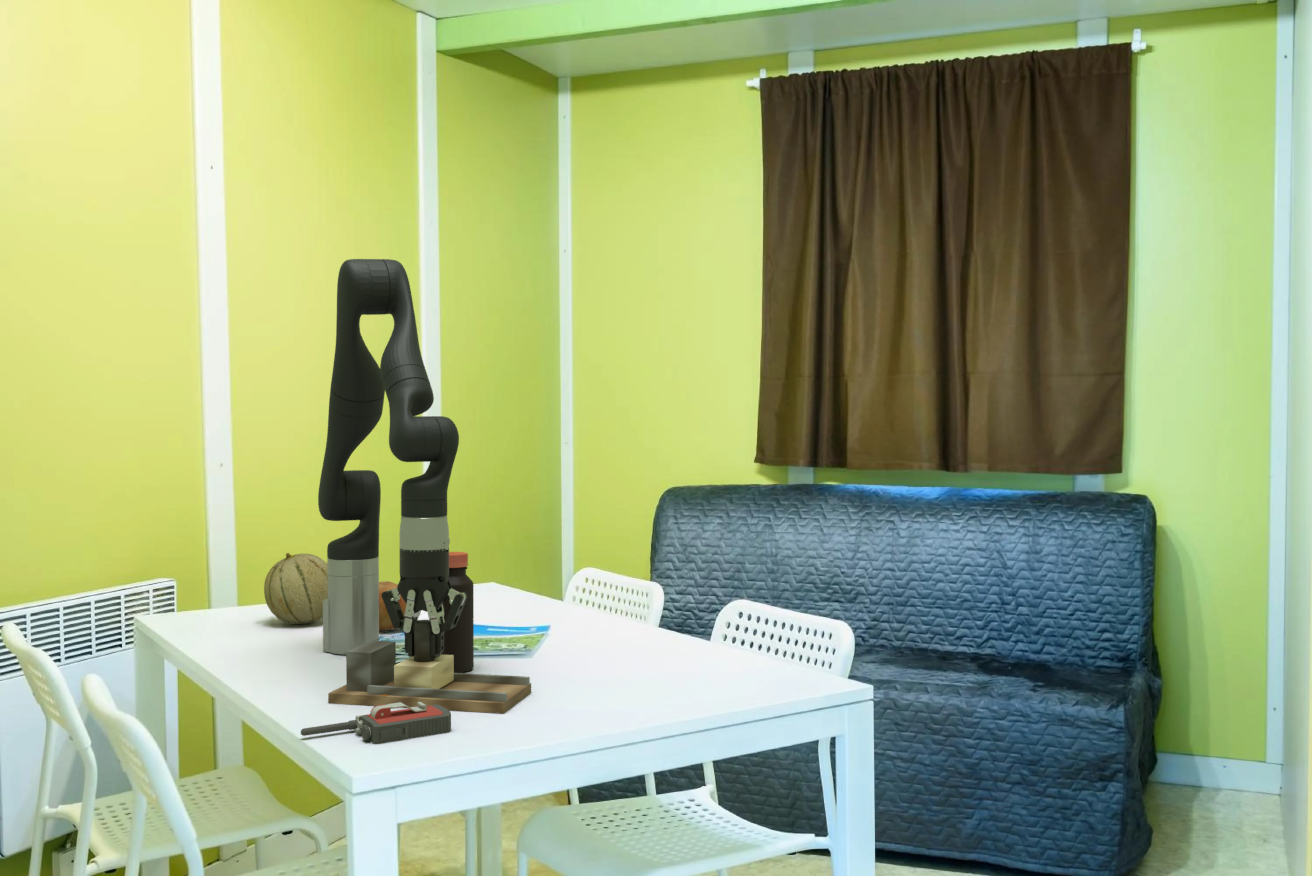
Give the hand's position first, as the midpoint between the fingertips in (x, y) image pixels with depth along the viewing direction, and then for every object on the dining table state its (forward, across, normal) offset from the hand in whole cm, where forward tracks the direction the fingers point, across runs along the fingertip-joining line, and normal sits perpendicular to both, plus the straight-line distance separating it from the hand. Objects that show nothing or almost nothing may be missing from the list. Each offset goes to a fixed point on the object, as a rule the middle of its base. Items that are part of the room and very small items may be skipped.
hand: (424, 655), depth 182 cm
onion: (+7, -29, +49) cm, 58 cm away
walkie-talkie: (+7, +2, -20) cm, 22 cm away
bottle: (+7, -3, +19) cm, 20 cm away
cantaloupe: (+7, -49, +52) cm, 72 cm away
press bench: (+6, +1, 0) cm, 7 cm away
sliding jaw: (+5, 0, 0) cm, 5 cm away
